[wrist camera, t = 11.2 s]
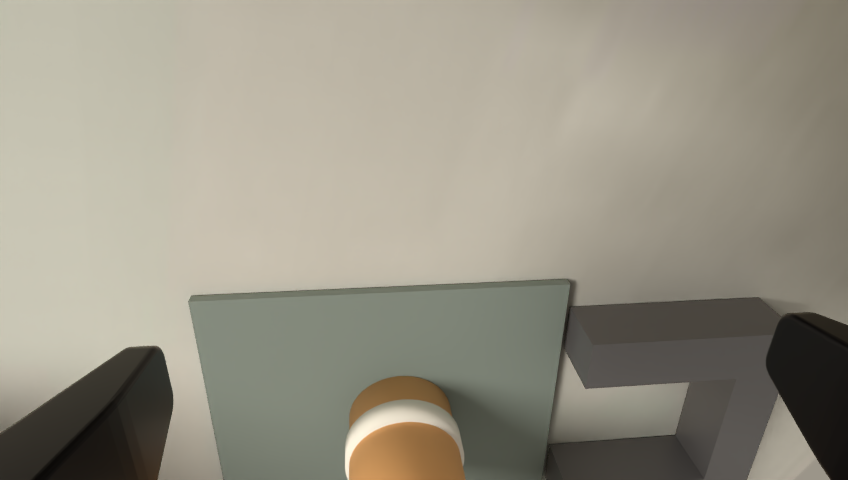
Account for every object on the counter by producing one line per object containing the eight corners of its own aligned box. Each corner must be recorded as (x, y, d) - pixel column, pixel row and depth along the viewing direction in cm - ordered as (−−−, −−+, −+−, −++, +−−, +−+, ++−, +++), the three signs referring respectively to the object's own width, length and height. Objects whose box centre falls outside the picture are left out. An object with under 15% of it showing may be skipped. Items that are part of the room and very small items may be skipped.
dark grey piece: (544, 476, 27) (561, 523, 25) (570, 306, 23) (592, 345, 21) (706, 463, 28) (736, 507, 26) (758, 297, 24) (800, 333, 22)
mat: (235, 521, 26) (233, 529, 26) (191, 295, 21) (188, 301, 21) (535, 496, 28) (538, 503, 27) (566, 279, 22) (570, 284, 22)
